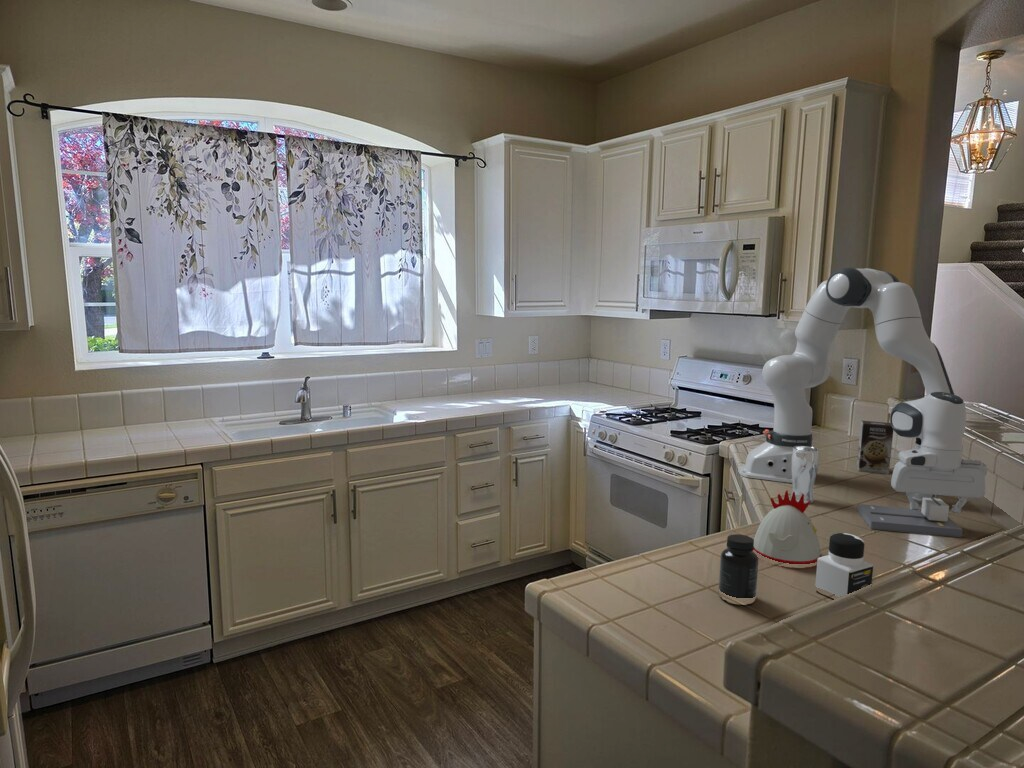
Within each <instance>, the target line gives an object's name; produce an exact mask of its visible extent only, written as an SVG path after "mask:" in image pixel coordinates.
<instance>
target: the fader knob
mask: <svg viewBox="0 0 1024 768" xmlns="http://www.w3.org/2000/svg"><path fill="white" fill-rule="evenodd" d="M949 510H950V506H949V504H947V503H946V502H945V501H944V500H942V499H941V498H937V497H936V498H932V497H930V498H924V497H923V500H922V505H921V513H922V514H923V515H924V516H926V517H927V518H928V519H929V520H934V521H946V522H947V520H948V517H949Z"/></svg>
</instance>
